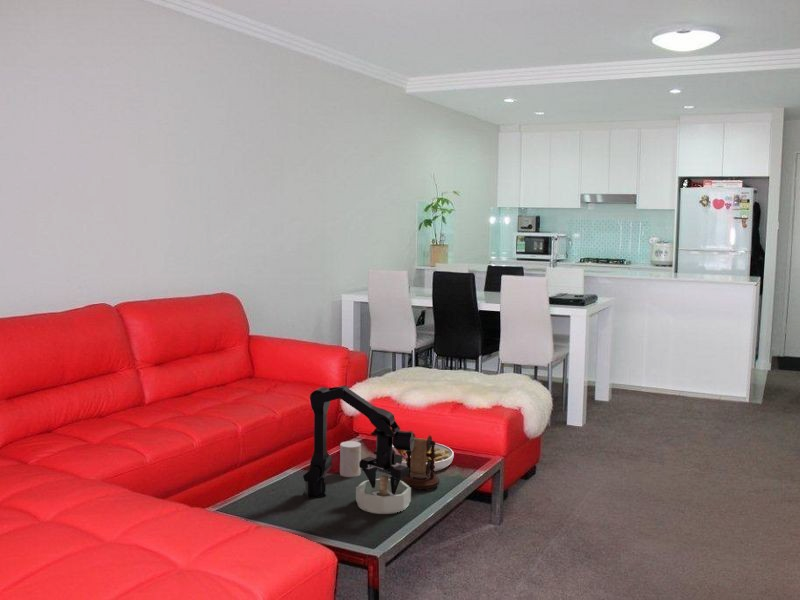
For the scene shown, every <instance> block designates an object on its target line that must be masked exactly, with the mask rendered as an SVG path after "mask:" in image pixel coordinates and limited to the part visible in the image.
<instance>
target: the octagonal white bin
mask: <svg viewBox="0 0 800 600" xmlns="http://www.w3.org/2000/svg"><path fill="white" fill-rule="evenodd" d="M379 487H380V478H376V483H375V488H372V486H371V484H370V482H369V480H368V479H367V480H364V481H362V482H360V483H359V485H357V486H356V487H355V502H356V503H357V504H356V505H357V507H358V508H359V509H361V510H362V511H364V512H366V513H370V514H377V515H390V514H391V515H392V514H398V513H400V511H401V512H403V510H404V511H405V510H407V509H408V508H409V507H408V506H410V503H411V502H412V488H410V487H409V486H408V485H407V484H405V483H404V482H403V481H401V480H400V482H399V485H398V487H397V490H396V492H395V494H392V490H391V482H390V478H388V496H384V497H383V496H379ZM407 507H408V508H407ZM406 508H407V509H406ZM397 512H398V513H397Z"/></svg>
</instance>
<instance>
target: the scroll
mask: <svg viewBox="0 0 800 600" xmlns="http://www.w3.org/2000/svg"><path fill="white" fill-rule="evenodd" d="M413 436H414V448H413V450H412V451H406V454H407V456H408V457H407V463H406V465H407V467H408V468H409V475H407V476H406V477H403V478H402V479H401V480H400V481H403V482H404V483H405V484H407V485H408V486H409V487H410V488H411V489H418V490H419V489H421V490H422V489H424V490H425V489H426V491H427V492H429V491H430V489H431V488H435V487H437V486H439V484H440V478H439V477H438V476H437V475H435V471H434V470H433V469H435V466H434V463H435V462H434V459H435V456H436V454H435V453H434V452H435V449H434V447H435V446H434V445H435V444H436V443H437V442H436V441H435V440H433V438H432V435H428V437H427V438H421V437H420V438H419V437H416V434H415V433H414V432H413ZM431 445H432V446H431ZM431 447H432V448H431ZM430 448H431V452H432V453H430V454H429V453H426V452H429V450H430ZM410 456H411V458H410ZM429 456H430V458H431V459H429V460H428V462H427V464H426V457H429ZM430 471H431V472H430ZM433 471H434V472H433Z"/></svg>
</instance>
